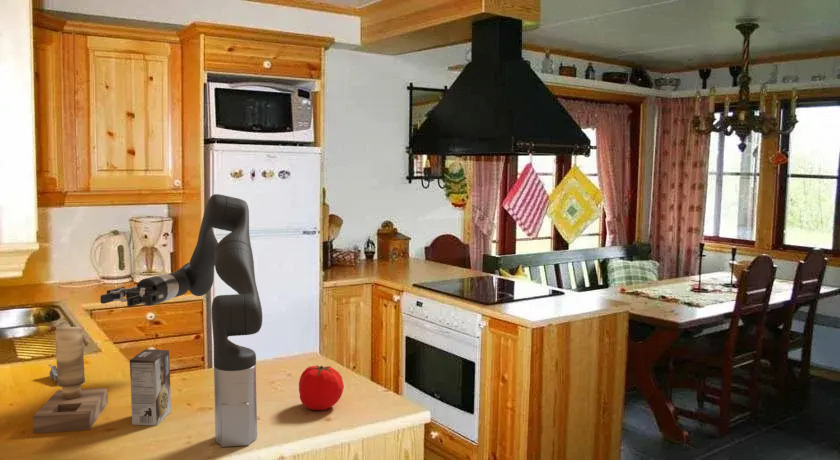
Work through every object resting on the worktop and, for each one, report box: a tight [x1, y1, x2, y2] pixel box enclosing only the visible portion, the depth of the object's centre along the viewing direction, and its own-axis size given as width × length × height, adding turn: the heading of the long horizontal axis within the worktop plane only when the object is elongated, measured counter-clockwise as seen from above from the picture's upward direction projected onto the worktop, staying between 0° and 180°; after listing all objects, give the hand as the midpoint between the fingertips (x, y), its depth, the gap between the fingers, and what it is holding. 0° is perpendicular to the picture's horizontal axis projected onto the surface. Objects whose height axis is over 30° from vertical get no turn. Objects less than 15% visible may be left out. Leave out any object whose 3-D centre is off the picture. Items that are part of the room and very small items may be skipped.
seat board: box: [32, 387, 109, 434], centre depth 171 cm, size 18×12×4 cm, turn 11°
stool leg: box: [54, 326, 86, 400], centre depth 173 cm, size 6×6×17 cm
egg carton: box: [48, 364, 86, 382], centre depth 200 cm, size 11×8×4 cm
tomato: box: [298, 365, 344, 411], centre depth 179 cm, size 12×12×11 cm
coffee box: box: [129, 348, 172, 427], centre depth 170 cm, size 9×6×16 cm
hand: (114, 301), depth 179 cm, fingers open, 8 cm apart
